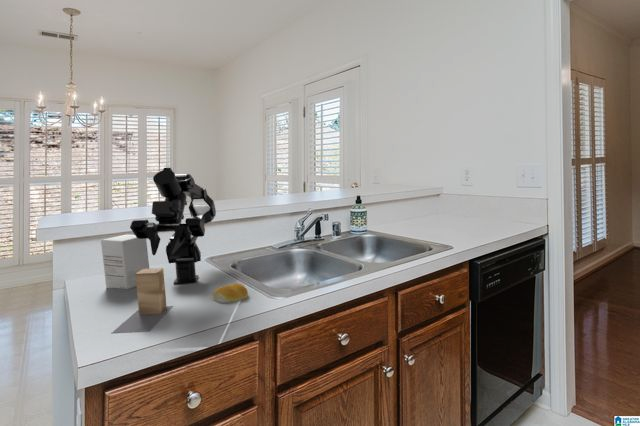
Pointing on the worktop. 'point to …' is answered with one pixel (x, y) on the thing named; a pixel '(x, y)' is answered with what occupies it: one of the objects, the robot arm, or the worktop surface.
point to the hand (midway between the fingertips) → (162, 254)
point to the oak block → (151, 291)
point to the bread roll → (230, 293)
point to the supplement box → (123, 260)
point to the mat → (141, 322)
